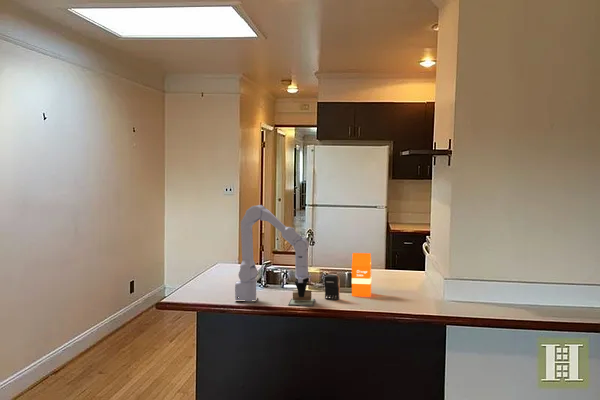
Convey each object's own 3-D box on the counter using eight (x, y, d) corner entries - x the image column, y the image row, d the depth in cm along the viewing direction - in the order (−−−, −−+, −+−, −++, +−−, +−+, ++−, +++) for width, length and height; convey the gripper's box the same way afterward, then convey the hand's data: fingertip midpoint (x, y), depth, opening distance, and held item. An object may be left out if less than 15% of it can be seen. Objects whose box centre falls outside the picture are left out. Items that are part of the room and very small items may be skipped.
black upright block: (322, 299, 240) (322, 275, 239) (326, 298, 243) (326, 273, 243) (337, 301, 237) (336, 276, 236) (340, 299, 240) (340, 274, 240)
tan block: (310, 300, 232) (310, 292, 231) (292, 300, 232) (292, 292, 232) (311, 298, 236) (311, 290, 236) (293, 297, 237) (293, 290, 237)
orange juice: (370, 296, 245) (370, 254, 244) (351, 296, 247) (351, 254, 246) (371, 293, 253) (371, 252, 252) (353, 292, 254) (353, 251, 253)
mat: (288, 305, 229) (288, 304, 229) (291, 299, 240) (291, 298, 240) (313, 306, 228) (313, 304, 228) (315, 300, 239) (315, 298, 239)
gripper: (309, 268, 226) (309, 299, 227) (311, 262, 240) (312, 292, 241) (293, 268, 227) (293, 299, 227) (296, 262, 241) (296, 291, 242)
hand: (301, 295), depth 234 cm, fingers closed on tan block, 4 cm apart
